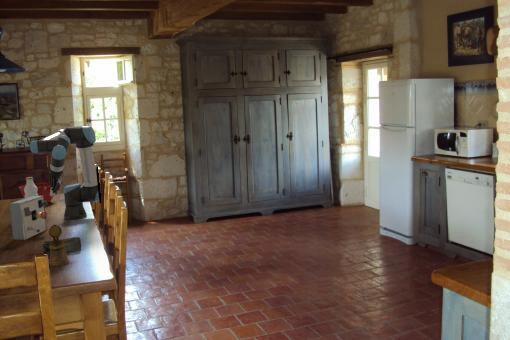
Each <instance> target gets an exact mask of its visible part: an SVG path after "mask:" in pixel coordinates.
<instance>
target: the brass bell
mask: <svg viewBox="0 0 510 340" xmlns="http://www.w3.org/2000/svg"><path fill="white" fill-rule="evenodd" d="M48 235H49V236H50V237H51V238H52V240H51V241H52V242H51V244H50V255H49V259H50V260H49V265H50V266H51V267H60V266H64V265H67V264H69V258H68V254H67V252H66V251H65V245H64V242H63V240H62V239H60V236H61V235H62V228H61V227H60V226H59V225H57V224H53V225H52V226H50V227H49V229H48Z"/></svg>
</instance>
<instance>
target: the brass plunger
mask: <svg viewBox="0 0 510 340" xmlns="http://www.w3.org/2000/svg"><path fill="white" fill-rule="evenodd" d="M31 215H32V218H42V219H46V220H47V218H48V213H47V211H46V210H45V211H42V212H41V213H31Z"/></svg>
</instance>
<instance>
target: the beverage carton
mask: <svg viewBox="0 0 510 340" xmlns="http://www.w3.org/2000/svg"><path fill="white" fill-rule="evenodd" d="M61 240H63V242H64V245H65V251H66V253H70V252H71V253H72V252H79V251H81V250H82V242H81V237H79V236H74V237H70V238H63V239H61ZM52 241H53V240H49V241H42V242H43V243H42V253H43V255H44V254H48V255H47V256H50V244H51V242H52Z"/></svg>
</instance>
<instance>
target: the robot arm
mask: <svg viewBox="0 0 510 340" xmlns="http://www.w3.org/2000/svg"><path fill="white" fill-rule="evenodd" d="M96 140H97V137H96V133H95V130H94V128H93V127H92V126H90V125H79V126H67V127H62V128H60V129H58V130H55V131H53V133H52V134H51V135H49V136H46V137H44V138H41V139H39V140H31V141H30V143H29V150H30V151H31V153H32V154H43V153H45V154H46V153H51V158H50V165H49V170H48V183H49V184H50V186H51V191H50V196H53V197H54V196H56V193H57V191H59V190H60V188H61V186H62V185H63V182H62V181H61V177H62V176H63V174H64V167H65V161H66V157H67V153H68V151H69V149H70V145H75V147H76V149H77V150H78V152H79V154H78V155H79V158H80V163H81V169H82V175H83V183H82V184H81V183H75V184H74V183H73V184H69V185H67V186H65V187H64V188H63V195H64V205H65V209H64V213H63V219H64V220H68V221H69V220H70V221H72V220H81V219H85V218H87V217H88V215H87V212H86V209H85V206H84V203H91V202H92V203H96V202H100V194H99V184H98V174H97V168H96V164H95V159H94V158H95V157H94V152H93V146H94V145H95V143H96Z"/></svg>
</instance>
